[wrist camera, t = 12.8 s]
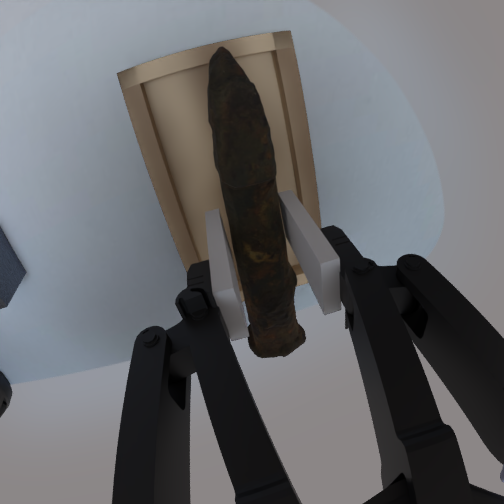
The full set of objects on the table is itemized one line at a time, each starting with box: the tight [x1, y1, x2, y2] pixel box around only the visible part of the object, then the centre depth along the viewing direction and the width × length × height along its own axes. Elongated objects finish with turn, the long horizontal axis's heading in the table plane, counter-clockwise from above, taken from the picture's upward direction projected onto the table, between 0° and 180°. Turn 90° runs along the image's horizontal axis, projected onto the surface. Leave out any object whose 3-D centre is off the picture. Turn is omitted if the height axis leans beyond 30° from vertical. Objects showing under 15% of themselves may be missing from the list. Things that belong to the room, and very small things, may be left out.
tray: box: [117, 31, 321, 302], centre depth 22 cm, size 11×20×3 cm, turn 12°
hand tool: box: [207, 46, 306, 358], centre depth 17 cm, size 19×4×5 cm, turn 8°
